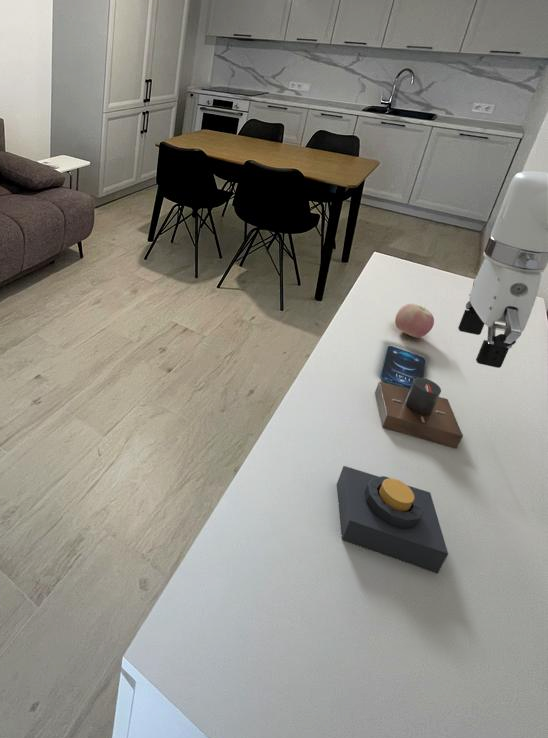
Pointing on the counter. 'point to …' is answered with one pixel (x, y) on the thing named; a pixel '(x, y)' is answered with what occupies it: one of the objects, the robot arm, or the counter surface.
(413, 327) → the apple
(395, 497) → the yellow button cap
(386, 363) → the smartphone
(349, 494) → the button base
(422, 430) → the dial panel
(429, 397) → the dial
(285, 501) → the counter surface
